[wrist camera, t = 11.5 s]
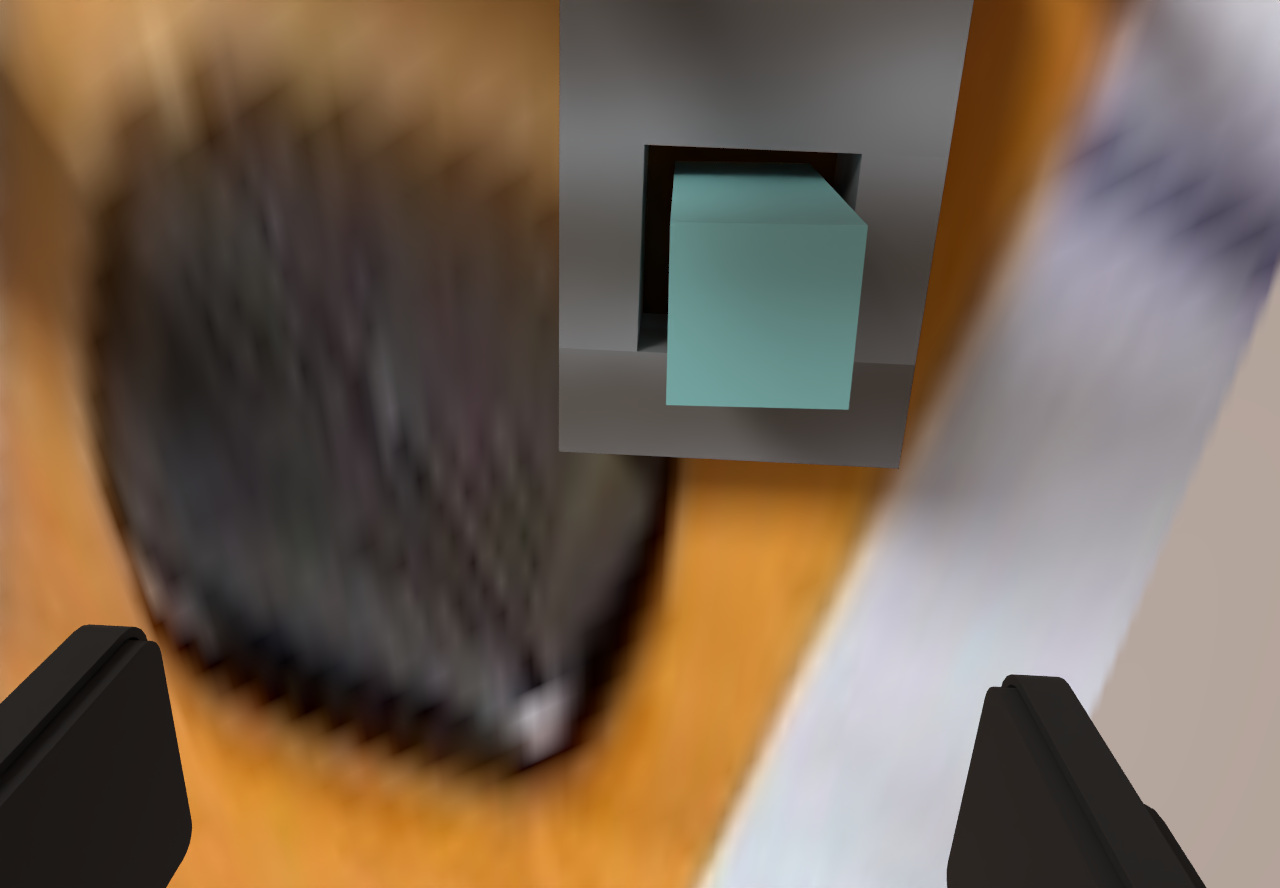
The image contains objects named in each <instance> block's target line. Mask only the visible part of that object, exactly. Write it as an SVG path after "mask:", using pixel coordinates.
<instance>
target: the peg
mask: <svg viewBox="0 0 1280 888" xmlns="http://www.w3.org/2000/svg"><path fill="white" fill-rule="evenodd" d="M867 229H868V225H867V224H866V223H865V222H864V221H863V220H862V219H861V218H860V217H859V216H858V215H857V213H856V212H855V211H854V210H853V209H852V208H851V207H850V206H849V205H848V204H847V203H846V202H845V201H844V200H843V199H842V197H841V196H840V195H839V194H838V193H837V192H836V191H835V190H834V189H833V188H832V187H831V186H830V185H829V184H828V183H827V182H826V180H825V179H824V178H823V177H822V176H821V175H820V174H819V173H818V172H817V171H816V170H815V169H814V168H813V167H812V166H811V165H810V163H778V162H715V161H675V170H674V182H673V194H672V206H671V218H670V253H669V297H668V342H667V386H666V405H684V406H724V407H763V408H802V409H842V410H849V401H850V391H851V382H852V372H853V363H854V353H855V344H856V334H857V325H858V315H859V306H860V296H861V286H862V277H863V267H864V258H865V248H866V239H867Z"/></svg>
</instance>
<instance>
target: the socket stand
mask: <svg viewBox="0 0 1280 888" xmlns="http://www.w3.org/2000/svg"><path fill="white" fill-rule="evenodd" d="M973 2H974V0H560V146H559V451H564V452H583V453H603V454H622V455H642V456H662V457H681V458H701V459H721V460H740V461H760V462H780V463H799V464H819V465H839V466H858V467H878V468H898V469H899V463H900V457H901V451H902V445H903V438H904V432H905V426H906V420H907V413H908V407H909V401H910V395H911V388H912V382H913V376H914V370H915V364H916V357H917V351H918V345H919V339H920V332H921V326H922V320H923V314H924V307H925V301H926V295H927V289H928V283H929V276H930V270H931V264H932V258H933V251H934V245H935V239H936V233H937V226H938V220H939V214H940V208H941V202H942V195H943V189H944V183H945V177H946V170H947V164H948V158H949V152H950V145H951V139H952V133H953V127H954V121H955V114H956V108H957V102H958V96H959V89H960V83H961V77H962V71H963V64H964V58H965V52H966V46H967V40H968V33H969V27H970V21H971V15H972V8H973ZM649 145H665V146H689V147H712V148H736V149H760V150H783V151H807V152H830V153H837V161H836V169H835V178H834V187H833V189H834V190H835V191H836V192H837V193H838V194H839V195H840V196H841V197H842V199H843V200H844V201H845V202H846V203H847V204H848V205H849V206H850V207H851V208H852V209H853V210H854V211H855V212H856V213H857V215H858V216H859V217H860V218H861V219H862V220H863V221H864V222H865V223H866V224H867V225H868V229H867V239H866V248H865V258H864V267H863V277H862V286H861V296H860V306H859V315H858V325H857V334H856V344H855V353H854V363H853V372H852V382H851V391H850V401H849V410H842V409H802V408H763V407H724V406H684V405H666V386H667V342H668V314H654V313H643V294H644V268H645V242H646V216H647V189H648V163H649Z"/></svg>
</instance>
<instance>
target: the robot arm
mask: <svg viewBox="0 0 1280 888" xmlns="http://www.w3.org/2000/svg"><path fill="white" fill-rule="evenodd" d="M191 833H192V821H191V815H190V809H189V804H188V798H187V793H186V787H185V782H184V776H183V771H182V765H181V760H180V754H179V749H178V743H177V738H176V732H175V727H174V721H173V716H172V710H171V705H170V699H169V694H168V688H167V683H166V677H165V672H164V666H163V661H162V655H161V651H160V648H159V646H158V645H157V643H156V642H153V641H147V638H146V635H145V634H144V632H143V631H142V630H141V629H139V628H137V627H124V626H106V625H84V626H81V627H80V628H79V629H77V630H76V631H74V632H73V633H72V634H71V635H70V636H69V637H68V638H67V639H66V640H65V641H64V642H63V643H62V644H61V645H60V646H59V647H58V648H57V649H56V650H55V651H54V652H53V653H52V654H51V655H50V656H49V657H48V658H47V659H46V660H45V661H44V662H43V663H42V664H41V665H40V666H39V667H38V668H37V669H36V670H35V671H33V672H32V673H31V674H30V675H29V676H28V677H27V678H26V679H25V680H24V681H23V682H22V683H21V684H20V685H19V686H18V687H17V688H16V689H15V690H14V691H13V692H12V693H11V694H10V695H9V696H8V697H7V698H6V699H5V700H4V701H3V702H2V703H1V704H0V888H166V887H167V885H168V883H169V882H170V880H171V878H172V877H173V875H174V873H175V872H176V870H177V869H178V867H179V865H180V864H181V862H182V860H183V858H184V856H185V854H186V852H187V850H188V847H189V844H190V839H191ZM947 888H1206V887H1205V885H1204V883H1203V882H1202V880H1201V879H1200V877H1199V876H1198V874H1197V872H1196V871H1195V869H1194V868H1193V866H1192V864H1191V863H1190V861H1189V860H1188V859H1187V857H1186V855H1185V853H1184V852H1183V850H1182V849H1181V847H1180V846H1179V844H1178V843H1177V841H1176V840H1175V838H1174V836H1173V835H1172V833H1171V832H1170V830H1169V828H1168V827H1167V825H1166V824H1165V822H1164V821H1163V820H1162V818H1161V817H1160V816H1159V815H1158V814H1157V812H1156V811H1155V810H1154V809H1152V808H1150V807H1148V806H1147V805H1145V804H1143V802H1142V801H1141V799H1140V798H1139V796H1138V794H1137V793H1136V791H1135V790H1134V788H1133V787H1132V785H1131V783H1130V782H1129V780H1128V778H1127V777H1126V775H1125V774H1124V772H1123V770H1122V769H1121V767H1120V766H1119V764H1118V762H1117V761H1116V759H1115V758H1114V756H1113V754H1112V753H1111V751H1110V750H1109V748H1108V746H1107V745H1106V743H1105V742H1104V740H1103V738H1102V737H1101V735H1100V734H1099V732H1098V730H1097V729H1096V727H1095V726H1094V724H1093V722H1092V721H1091V719H1090V718H1089V716H1088V714H1087V713H1086V711H1085V710H1084V708H1083V706H1082V705H1081V703H1080V702H1079V700H1078V698H1077V697H1076V695H1075V694H1074V692H1073V690H1072V689H1071V687H1070V686H1069V684H1068V683H1067V682H1066V681H1065V680H1064V679H1062V678H1060V677H1048V676H1030V675H1009V676H1007V677H1006V678H1005V680H1004V681H1003V683H1002V686H1001V687H991V688H989V690H988V691H987V693H986V696H985V700H984V704H983V709H982V713H981V718H980V722H979V727H978V731H977V736H976V740H975V745H974V749H973V753H972V758H971V762H970V767H969V771H968V776H967V780H966V785H965V789H964V794H963V798H962V802H961V807H960V811H959V816H958V820H957V825H956V829H955V834H954V838H953V843H952V847H951V851H950V856H949V860H948V866H947Z"/></svg>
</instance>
